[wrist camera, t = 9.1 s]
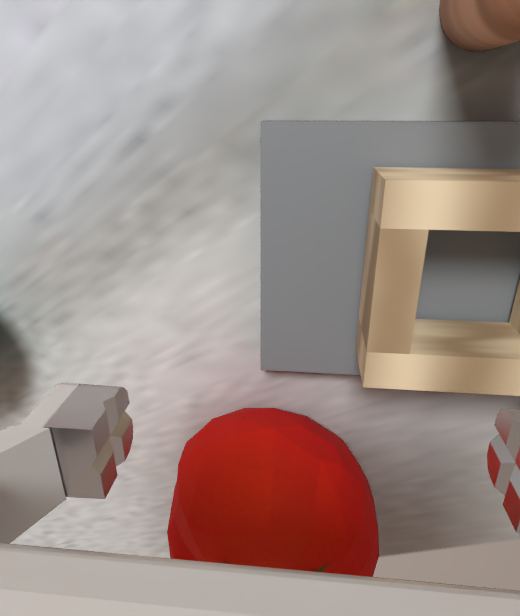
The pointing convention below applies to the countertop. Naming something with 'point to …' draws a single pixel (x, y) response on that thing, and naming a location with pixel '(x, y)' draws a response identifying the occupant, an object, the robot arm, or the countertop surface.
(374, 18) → the countertop surface
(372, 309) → the square wooden frame
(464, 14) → the dowel
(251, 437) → the tomato
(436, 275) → the slate track
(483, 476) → the countertop surface
